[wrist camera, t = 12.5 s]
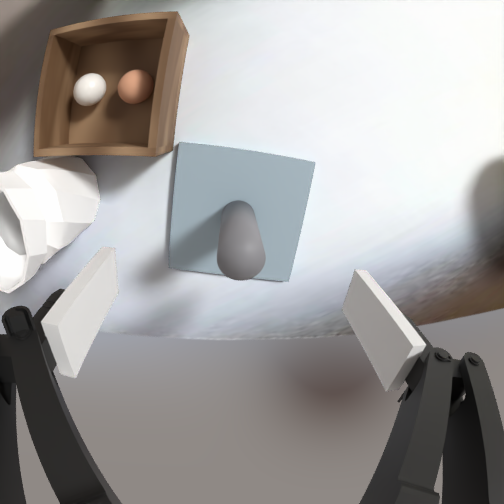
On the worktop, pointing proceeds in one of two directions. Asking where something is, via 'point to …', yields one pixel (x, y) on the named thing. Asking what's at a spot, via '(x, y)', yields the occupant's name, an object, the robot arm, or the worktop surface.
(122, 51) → the box
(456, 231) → the worktop surface
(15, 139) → the worktop surface
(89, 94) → the ball
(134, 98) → the ball
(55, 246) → the white vase
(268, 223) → the lid
